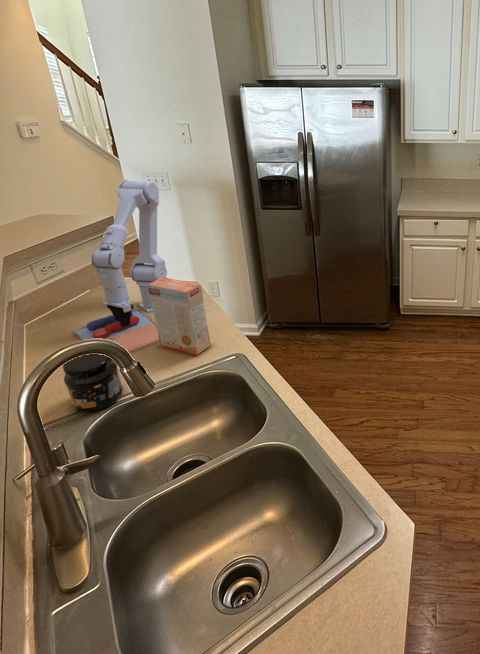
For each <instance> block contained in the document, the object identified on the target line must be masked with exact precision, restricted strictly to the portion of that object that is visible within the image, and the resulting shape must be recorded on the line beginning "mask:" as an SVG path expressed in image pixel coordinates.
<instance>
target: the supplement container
mask: <svg viewBox="0 0 480 654" xmlns="http://www.w3.org/2000/svg"><path fill="white" fill-rule="evenodd" d="M117 364H118V363H117V362H116V360H114V358H113V359H111V358H109V357H107V356H104V355H99V354H89V355H83V356H81V357H77V358H75V359H73V360H71V361H69V362H67V363H66V364H64V363H63V365H62V369H63V373H64V377H63V382H64V384H65V386H66V389H67V392H68V395H69V398H70V401H71V406H72V407H73V408H72V409H74V410H76V411H77V412H80V413H93V412H97V411H100V410H103V409H106V408H107V407H109V406H111V405H113V404H114V403H115V402H117V401H118V400H119V399H120V398H121V396H122V395H123V390H124V389H123V385H122V382H121V377H120V374H119V369H118V365H117Z"/></svg>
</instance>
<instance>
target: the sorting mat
mask: <svg viewBox="0 0 480 654" xmlns="http://www.w3.org/2000/svg"><path fill="white" fill-rule="evenodd" d="M132 313H133V316H137V317H138V318H139V322H138V323H137V324H135V325H132V326H130V327H127V328H124V329H121V330H119V331H116V332H113V333H111V335H110V336H109V337H107V338H105V339H109V340H112V341H115V342H117V343H119V344H120V345H122V346H123V347H124V348H126V349H127V350H128V352H127V353H130V352H132V351H134V350H137V349H139V348H142V347H144V346H146V345H149V344H152V343H153V342H154V343H155V342H158V341H159V336H158V332H157V327H156V323H154V322H153V321H151V320H150V319H148V317H146V316H144V315H143V314H142V313H141V312H140V311H138V310H133V311H132ZM105 327H106V326H104V327H101V328H105ZM98 329H99V328H98ZM95 330H97V329H95ZM95 330H88V329H87V327H84V328H81V329H78V330H75V331H74V332H75V333H76V334H77V336H78V337H79V339H81V340H82V341H83V340H85V339H91V338H93V334H92V333H93V332H94V331H95Z"/></svg>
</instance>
